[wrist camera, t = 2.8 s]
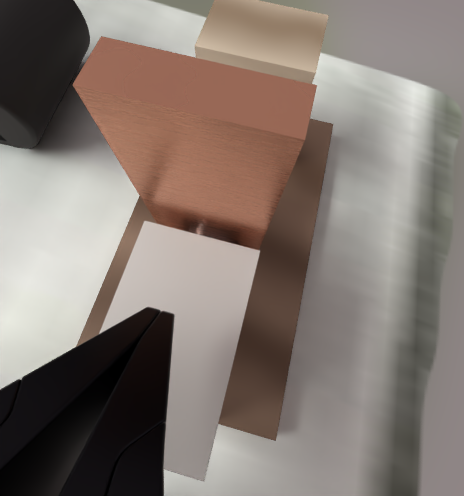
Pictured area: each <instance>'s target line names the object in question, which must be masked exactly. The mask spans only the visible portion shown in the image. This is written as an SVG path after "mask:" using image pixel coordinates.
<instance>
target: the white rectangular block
mask: <svg viewBox="0 0 464 496" xmlns="http://www.w3.org/2000/svg"><path fill="white" fill-rule="evenodd" d="M259 254H260V251H259V250H255V249H251V248H248V247H244V246H240V245H236V244H232V243H229V242H225V241H221V240H217V239H213V238H209V237H206V236H202V235H198V234H194V233H190V232H186V231H183V230H179V229H175V228H171V227H167V226H163V225H160V224H156V223H152V222H148V221H144V223H143V226H142V228H141V231H140V233H139V236H138V238H137V241H136V243H135V245H134V248H133V250H132V253H131V255H130V258H129V260H128V263H127V265H126V268H125V270H124V273H123V275H122V278H121V280H120V283H119V285H118V288H117V290H116V293H115V295H114V298H113V300H112V303H111V305H110V308H109V310H108V313H107V315H106V318H105V320H104V323H103V325H102V328H101V330H100V333H102V332H103V331H105V330H107V329H109V328H110V327H112V326H114V325H116V324H118V323H119V322H121V321H123V320H125V319H126V318H128V317H130V316H132V315H134V314H135V313H137V312H139V311H141V310H142V309H144V308H146V307H152V308H156V309H159V310H160V311H167V312H170V313H173V314H174V315H175V318H174V331H173V343H172V356H171V368H170V381H169V394H168V406H167V419H166V433H165V449H164V469H165V470H168V471H171V472H175V473H178V474H181V475H184V476H188V477H191V478H194V479H197V480H201V481H204V480H205V475H206V471H207V467H208V463H209V459H210V455H211V451H212V447H213V443H214V439H215V434H216V430H217V426H218V422H219V418H220V414H221V410H222V406H223V402H224V397H225V393H226V389H227V385H228V381H229V377H230V373H231V369H232V365H233V361H234V356H235V352H236V348H237V344H238V340H239V336H240V332H241V328H242V324H243V319H244V315H245V311H246V307H247V303H248V299H249V295H250V291H251V287H252V283H253V278H254V274H255V270H256V266H257V262H258V258H259ZM100 333H99V334H100Z"/></svg>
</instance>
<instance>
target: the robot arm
mask: <svg viewBox="0 0 464 496" xmlns="http://www.w3.org/2000/svg"><path fill="white" fill-rule="evenodd" d="M174 318H175V315H174V314H173V313H170V312H167V311H160V310H159V309H156V308H152V307H146V308H144V309H142V310H141V311H139V312H137V313H135V314H134V315H132V316H130V317H128V318H126V319H125V320H123V321H121V322H119V323H118V324H116V325H114V326H112V327H110V328H109V329H107V330H105V331H103V332H102V333H100V334H98V335H96V336H95V337H93V338H91V339H89V340H87V341H86V342H84V343H82V344H80V345H79V346H77V347H75V348H73V349H71V350H70V351H68V352H66V353H64V354H63V355H61V356H59V357H57V358H56V359H54V360H52V361H50V362H48V363H47V364H45V365H43V366H41V367H40V368H38V369H36V370H34V371H32V372H31V373H29V374H27V375H25V376H24V377H23V378H22V380H20V379H18V380H16V381H15V382H13V383H11V384H9V385H7V386H6V387H4V388H2V389H0V496H164V449H165V433H166V419H167V406H168V394H169V381H170V368H171V356H172V343H173V331H174Z"/></svg>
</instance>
